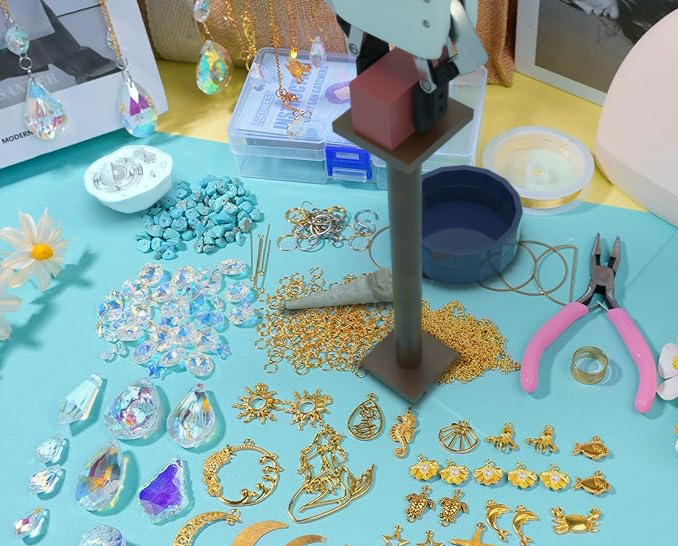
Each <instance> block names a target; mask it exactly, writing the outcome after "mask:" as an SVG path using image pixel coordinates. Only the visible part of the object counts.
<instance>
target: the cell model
mask: <svg viewBox="0 0 678 546" xmlns="http://www.w3.org/2000/svg"><path fill="white" fill-rule="evenodd" d="M172 173H173V158H172V156H171V155H170V154H168V153H167V152H165V151H163V150H160V149H158V148H156V147H154V146H151V145H125V146H122V147H120V148H118V149H117V150H115V151H113V152H111V153H109V154H107V155H105V156H103V157H100V158H98V159H97V160H95V161H94V162H93V163H91V164H90V166H88V167H87V169H86V170H85V172H84V174H83V183H84V186H85V189H86V191H87V192H88V193H89V194H90V195H92V196H93V197H94V198H95V199H96V200H98V201H99V202H100V203H101V204H102V205H104V206H106V207H108V208H110V209H112V210H114V211H116V212H120V213H124V214H133V213H137V212H140V211H144V210H147V209H148V208H150V207H152V206H153V205H155V203H157V202H158V201H159V200H160V199H162V197H164V196H165V195H166V194H167V193H168V192H169V191H170V189H171V188H172V186H173V185H172V183H173V179H172V177H173V176H172V175H173V174H172Z"/></svg>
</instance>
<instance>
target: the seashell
mask: <svg viewBox="0 0 678 546" xmlns="http://www.w3.org/2000/svg"><path fill="white" fill-rule="evenodd" d="M383 302H385V303H391V302H392V303H393V289H392V269H391V268H389V267H384V268H381V269H376V271H374V272H373V273H370V274H366V275H362V276H361V277H360V278H356V279H351V281H350V282H346V283H343V284H341V285H337V286H335V287H332V288H328V289H327V290H321V291H318V292H316V293H313V294H308V295H306V296H303V297H299V298H297V299H293V300H290V301H287V302H286V304H285V308H286V310H300V309H301V310H302V309H312V308H313V309H315V308H324V307H328V308H329V307H330V308H331V307H338V306H347V305H352V306H355V305H358V304H361V305H366V304H368V303H370V304H371V303H373V304H376V303H383Z"/></svg>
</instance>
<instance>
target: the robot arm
mask: <svg viewBox="0 0 678 546" xmlns="http://www.w3.org/2000/svg"><path fill="white" fill-rule="evenodd" d="M323 1H324V3H325V4H326V6H327V7H328V9H329V10H330V11H331V12H332V14H333V15H334V16H335V19H336V22H337V24H338V26H339V27H340V29H341V30H342V32H343V33H344V34H345V36H346V38H347V40H348V41H347V50H348V52H349V53H350V54H351V56H353V57H356V59H355V68H356V77H357V76H359V75H360V74H361V73H362V72H364V71H365V70H366V69H368V68H369V67H370V66H371V65H373V64H374V63H375V62H377V61H378V60H379V59H380V58H382V57H383V56H384V55H386V54H387V53H388V52H389V51H391V47H390V45H392V46H393V47H398V48H400V49H402V50H405V51H407V52H409V53H411V54H413V58H414V62H415V66H416V71H417V75H418V79H419V83H420V84H419V85H417V86H416V87H415V88H414V91H413V112H414V127H415V130H416V131H418V132H420V133H423V132H424V131H425V130H426V129H427V128H429V127H430V126H431V125H432V124H433V123H434V122H437V121H439V120H440V119H441V118H442V117H443V116H444V115H445V113H446V111H447V102H448V82H449V83H450V82H451V81H453V80H455V79H456V78H458V77H463V76H466V75H470V74H472V73H476V72H477V71H478V70H479V69H480V68H482V67H483V66H484V65H485V64H487V62H488V61H489V56H488V53H487V51H486V49H485V47H484V44H483V43H482V40H481V39H480V37H479V34H478V33H477V31H476V27H477V23H478V12H479V11H478V10H479V0H323ZM453 49H454V50H455V51H456V53H455V54H454V50H453ZM432 59H437V61H438V65H436V66H435V67H434V68H433V64H432Z"/></svg>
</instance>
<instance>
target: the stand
mask: <svg viewBox="0 0 678 546" xmlns="http://www.w3.org/2000/svg"><path fill="white" fill-rule="evenodd" d="M474 114H475V109H474V108H472V107H470V106H469V105H467V104H465V103H463V102H460V101H458V100H456V99H454V98H453V97H451V96H449V103H448V104H447V111H446V113H445V115H444V116H443V117H442V118H441V119H440V120H439V121H437V122H434V123H433V124H432V125H431V126H430V127H429V128H427V129H426V130H425V131H424V132H423V133H420V132H418V131H415V132H414V133H412V134H411V135H410V136H409V137H408V138H406V139H405V140H404V141H403V142H402V143H401V144H399V145H398V146H397V147H396V148H395V149H393V150H392V151H390V150H389V149H387V148H385V147H383V146H381V145H380V144H378V143H376V142H374V141H373V140H371V139H369V138H367V137H365V136H364V135H362V134H360V133H358V132H356V131H355V130H353V122H352V112H351V107H349V108H348V109H346V110H345V111H344V112H343V113H342V114H341V115H339V116H338V117H336V118H335V119H333V121H332V122H331V128H332V133H333V134H336V135H337V136H339V137H341V138H342V139H344V140H346V141H348V142H350V143H351V144H353V145H355V146H357V147H358V148H361V149H362V150H364V151H365V152H367V153H369V154H371V155H373V156H374V157H376V158H378V159H380V160H381V161H383V162H385V169H386V189H387V210H388V211H387V212H388V228H389V230H388V231H389V246H390V247H389V248H390V249H389V250H390V270H391V271H392V289H393V301H392V307H393V324H394V327H393V329H392V330H391V331H389V333H388V334H387V335H386V336H385V337H384V338H383V339H382V340H381V341H380V342H379V343H378V344H377V345H376V346H375V347H373V349H372V350H371V351H370V352H368V353H367V354H366V356H364V357H363V359H361V360H360V361H359V365H360V367H361V368H362V369H364V370H365V371H366V372H368V373H369V374H370V375H371V376H373V377H374V378H375V379H377V380H379V381H380V382H381V383H383V385H385V386H387V387H389V388H390V389H391V390H392V391H393V392H395V393H396V394H398V395H399V396H401V397H402V398H404V399H405V400H406V401H407V402H409V403H410V404H411V405H413V406H415V404H416V403H417V402H418V401H420V400H421V398H423V396H425V394H426V393H427V390H428V389H429V388H430V387H431V386H432V385H433V384H434V383H435V382H436V381H437V380H438V379H439V378H440V377H441V376H442V375H443V374H444V373H445V372H446V371H447V370H448V369H449V367H451V365H452V364H453V363H455V362H456V360H457V359H458V358H459V357H460V354H459V353H458V352H456V350H454V349H452V348H451V347H449V346H448V345H446V344H445V343H444V342H442V341H440V340H439V339H437V338H435V337H434V336H433V335H431V334H429V333H428V332H427V331H425V330H424V329H423V274H422V174H423V164H424V163H425V162H426V161H427V160H428V159H429V158H430V157H432V156H433V155H434V154H435V153H436V152H437V151H438V150H440V149H441V148H442V147H443V146H444V145H445V144H446V143H448V142H449V141H450V140H451V139H452V138H453V137H455V136H456V135H457V134H458V133H459V132H461V130H463V129H464V128H465V127H466V126H467V125H468V124H469V123H471V121H473V120H474V116H475V115H474Z"/></svg>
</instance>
